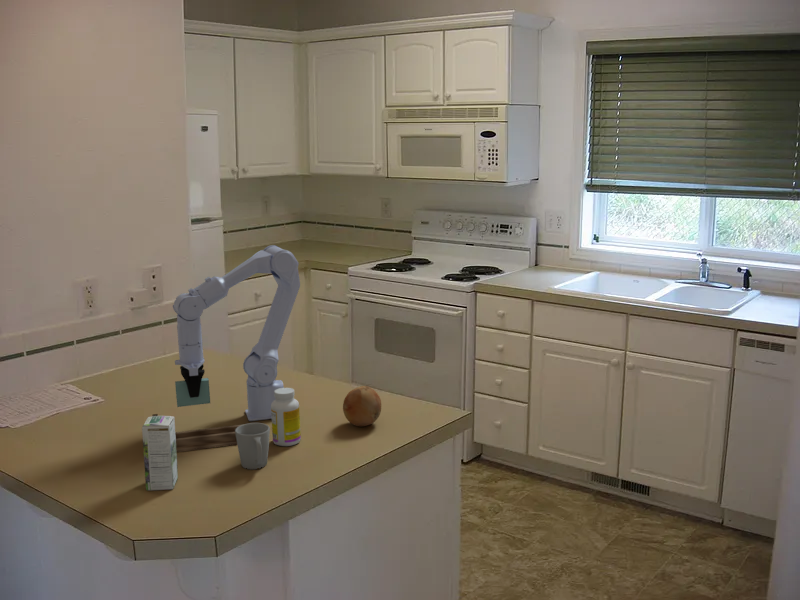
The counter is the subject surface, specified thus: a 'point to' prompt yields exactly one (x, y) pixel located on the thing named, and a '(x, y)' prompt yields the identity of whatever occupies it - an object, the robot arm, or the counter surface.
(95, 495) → the counter surface
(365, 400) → the grapefruit
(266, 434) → the cup
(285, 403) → the supplement bottle
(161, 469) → the syrup box
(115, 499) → the counter surface
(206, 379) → the teal rectangular block
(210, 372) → the counter surface
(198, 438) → the track
